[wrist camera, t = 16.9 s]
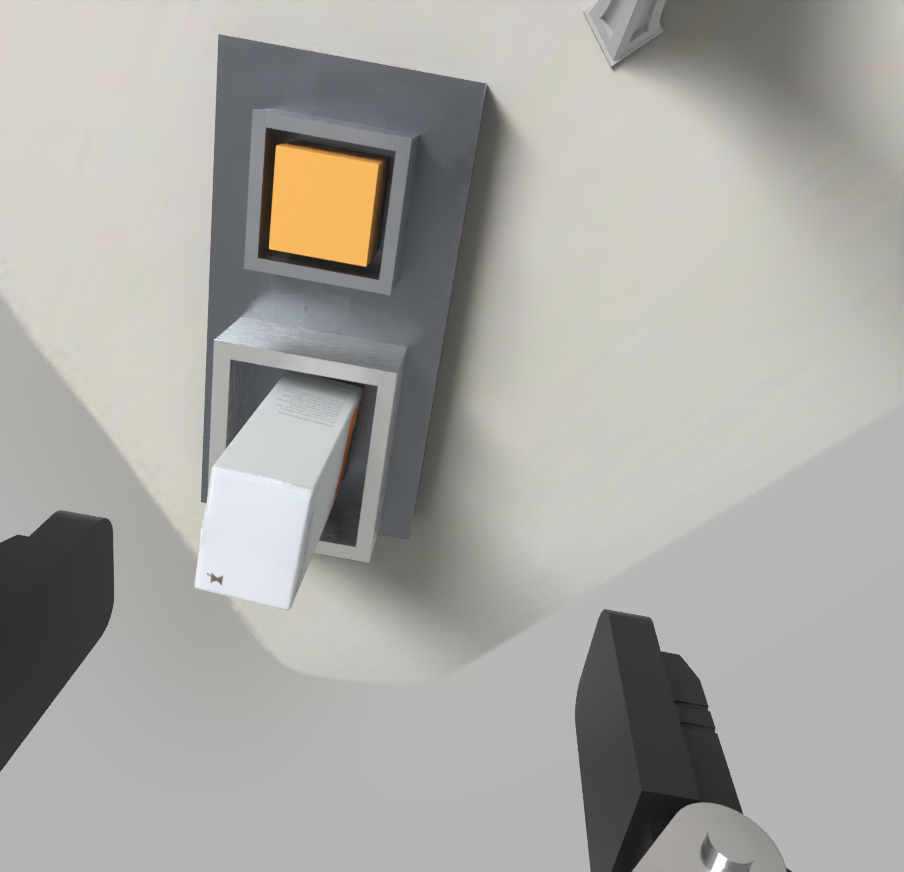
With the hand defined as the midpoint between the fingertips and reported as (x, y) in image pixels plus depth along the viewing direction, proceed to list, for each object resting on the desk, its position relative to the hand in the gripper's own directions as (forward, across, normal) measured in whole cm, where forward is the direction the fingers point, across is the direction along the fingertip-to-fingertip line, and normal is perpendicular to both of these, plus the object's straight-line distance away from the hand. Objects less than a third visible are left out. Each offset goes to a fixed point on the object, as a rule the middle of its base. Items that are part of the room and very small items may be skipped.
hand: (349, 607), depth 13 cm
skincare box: (+28, +6, +10) cm, 30 cm away
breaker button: (+27, +6, -2) cm, 28 cm away
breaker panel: (+30, +6, +4) cm, 31 cm away
